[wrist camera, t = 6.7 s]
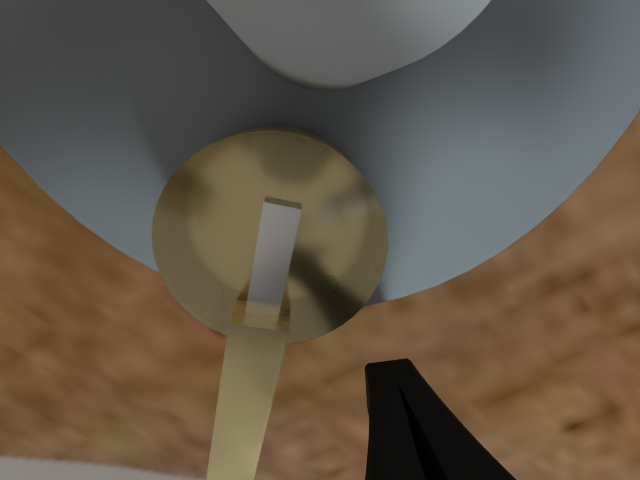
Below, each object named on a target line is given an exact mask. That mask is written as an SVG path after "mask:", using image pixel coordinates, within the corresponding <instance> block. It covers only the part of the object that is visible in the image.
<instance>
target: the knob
mask: <svg viewBox="0 0 640 480" xmlns="http://www.w3.org/2000/svg"><path fill="white" fill-rule="evenodd" d="M152 247H153V252H154V257H155V262H156V264H157V267H158V270H159V273H160V275H161V277H162V279H163V281H164V283H165V285H166V287H167V288H168V290H169V291H170V292H171V294H172V295H173V297H174V298H175V299H176V300H177V302H178V303H179V304H180V305H181V306H182V307H183V308H184V309H185V310H186V311H187V312H188V313H189V314H191V315H192V316H193V317H194V318H195V319H197V320H198V321H200V322H201V323H203V324H204V325H206V326H207V327H209V328H211V329H213V330H215V331H217V332H219V333H221V334H224V335H226V336H227V340H226V346H225V353H224V360H223V367H222V374H221V381H220V388H219V395H218V402H217V409H216V416H215V423H214V430H213V437H212V444H211V451H210V458H209V465H208V472H207V479H206V480H254V476H255V472H256V468H257V464H258V460H259V455H260V451H261V447H262V443H263V439H264V435H265V431H266V426H267V422H268V418H269V414H270V410H271V406H272V402H273V397H274V393H275V389H276V385H277V381H278V377H279V372H280V368H281V364H282V360H283V356H284V352H285V348H286V344H291V343H298V342H302V341H307V340H310V339H313V338H316V337H319V336H322V335H324V334H326V333H328V332H330V331H333V330H334V329H336V328H338V327H339V326H341V325H342V324H344V323H345V322H347V321H348V320H349V319H350V318H352V317H353V316H354V315H355V314H356V313H357V312H358V311H359V310H360V309H361V308H362V307H363V306H364V305H365V304H366V302H367V301H368V300H369V299H370V297H371V296H372V294H373V292H374V291H375V289H376V287H377V286H378V283H379V281H380V279H381V276H382V274H383V271H384V267H385V263H386V258H387V251H388V233H387V226H386V220H385V217H384V214H383V210H382V207H381V205H380V203H379V201H378V198H377V196H376V194H375V192H374V191H373V189H372V188H371V186H370V185H369V183H368V182H367V180H366V179H365V178H364V177H363V176H362V175H361V173H360V172H359V171H358V170H357V169H356V168H355V167H354V166H353V164H352V163H351V162H350V161H349V160H348V159H347V158H346V157H345V156H344V155H343V153H342V152H341V151H339V150H338V149H337V148H336V147H335V146H334V145H332V144H331V143H330V142H328V141H327V140H325V139H323V138H322V137H320V136H318V135H316V134H314V133H312V132H309V131H306V130H303V129H300V128H296V127H290V126H283V125H268V126H259V127H255V128H251V129H247V130H244V131H242V132H239V133H237V134H234V135H232V136H230V137H227V138H225V139H222V140H220V141H218V142H215V143H213V144H211V145H209V146H207V147H205V148H204V149H202V150H200V151H199V152H197V153H195V154H194V155H193V156H191V157H190V158H189V159H188V160H187V161H185V162H184V163H183V164H182V165H181V166H180V167H179V168H178V169H177V171H176V172H175V173H174V174H173V175H172V176H171V178H170V179H169V181H168V182H167V184H166V185H165V187H164V189H163V190H162V193H161V195H160V197H159V200H158V202H157V205H156V208H155V212H154V216H153V224H152Z"/></svg>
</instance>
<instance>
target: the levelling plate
mask: <svg viewBox="0 0 640 480" xmlns="http://www.w3.org/2000/svg"><path fill="white" fill-rule="evenodd" d="M639 109H640V0H0V145H1V146H2V147H3V149H4V150H5V151H6V152H7V153H8V154H9V155H10V156H11V157H12V158H13V159H14V160H15V161H16V163H17V164H18V165H19V166H20V167H21V168H22V169H23V170H24V171H25V172H26V173H27V174H28V175H29V176H30V177H31V178H32V179H33V180H34V182H35V183H36V184H37V185H38V186H39V187H40V188H41V189H42V190H43V191H44V192H45V193H47V194H48V195H49V196H50V197H51V198H52V199H53V200H55V201H56V202H57V203H58V204H59V205H60V206H62V207H63V208H64V209H65V210H66V211H67V212H68V213H70V214H71V215H72V216H73V217H74V218H75V219H76V220H78V221H79V222H80V223H81V224H83V225H84V226H85V227H87V228H88V229H90V230H91V231H92V232H94V233H95V234H97V235H98V236H99V237H101V238H102V239H104V240H105V241H106V242H108V243H109V244H111V245H112V246H113V247H115V248H116V249H118V250H119V251H121V252H123V253H125V254H126V255H128V256H130V257H132V258H133V259H135V260H137V261H139V262H140V263H142V264H144V265H146V266H147V267H149V268H151V269H153V270H154V271H157V272H159V270H158V267H157V264H156V262H155V257H154V252H153V247H152V224H153V216H154V212H155V208H156V205H157V202H158V200H159V197H160V195H161V193H162V190H163V189H164V187H165V185H166V184H167V182H168V181H169V179H170V178H171V176H172V175H173V174H174V173H175V172H176V171H177V169H178V168H179V167H180V166H181V165H182V164H183V163H184V162H185V161H187V160H188V159H189V158H190V157H191V156H193V155H194V154H195V153H197V152H199V151H200V150H202V149H204V148H205V147H207V146H209V145H211V144H213V143H215V142H218V141H220V140H222V139H225V138H227V137H230V136H232V135H234V134H237V133H239V132H242V131H244V130H247V129H251V128H255V127H259V126H268V125H283V126H290V127H296V128H300V129H303V130H306V131H309V132H312V133H314V134H316V135H318V136H320V137H322V138H323V139H325V140H327V141H328V142H330V143H331V144H332V145H334V146H335V147H336V148H337V149H338V150H339V151H341V152H342V153H343V155H344V156H345V157H346V158H347V159H348V160H349V161H350V162H351V163H352V164H353V166H354V167H355V168H356V169H357V170H358V171H359V172H360V173H361V175H362V176H363V177H364V178H365V179H366V180H367V182H368V183H369V185H370V186H371V188H372V189H373V191H374V192H375V194H376V196H377V198H378V201H379V203H380V205H381V207H382V210H383V214H384V217H385V220H386V226H387V233H388V251H387V258H386V263H385V267H384V271H383V274H382V276H381V279H380V281H379V283H378V286H377V287H376V289H375V291H374V292H373V294H372V296H371V297H370V299H369V300H368V301H367V302H366V304H365V305H364V306H366V305H371V304H375V303H380V302H384V301H389V300H393V299H397V298H402V297H405V296H408V295H411V294H413V293H416V292H419V291H422V290H425V289H428V288H431V287H434V286H436V285H439V284H441V283H443V282H445V281H447V280H449V279H452V278H454V277H456V276H458V275H460V274H462V273H465V272H467V271H469V270H471V269H472V268H474V267H476V266H477V265H479V264H481V263H482V262H484V261H486V260H488V259H489V258H491V257H493V256H494V255H496V254H498V253H499V252H501V251H503V250H504V249H505V248H507V247H508V246H509V245H511V244H512V243H514V242H515V241H516V240H518V239H519V238H520V237H522V236H523V235H525V234H526V233H527V232H529V231H530V230H531V229H533V228H534V227H535V226H536V225H538V224H539V223H540V222H541V221H542V220H543V219H544V218H545V217H547V216H548V215H549V214H550V213H551V212H552V211H553V210H554V209H556V208H557V207H558V206H559V205H560V204H561V203H562V202H563V201H565V200H566V199H567V198H568V197H569V196H570V195H571V193H572V192H573V191H574V190H575V189H576V188H577V187H578V186H579V185H580V184H581V183H582V182H583V181H584V180H585V179H586V177H587V176H588V175H589V174H590V173H591V172H592V171H593V170H594V169H595V168H596V167H597V166H598V165H599V163H600V162H601V161H602V159H603V158H604V157H605V156H606V154H607V153H608V152H609V151H610V149H611V148H612V147H613V145H614V144H615V143H616V142H617V140H618V139H619V138H620V136H621V135H622V134H623V133H624V131H625V130H626V129H627V127H628V126H629V125H630V123H631V122H632V120H633V119H634V117H635V116H636V114H637V113H638V111H639Z"/></svg>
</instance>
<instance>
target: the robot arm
mask: <svg viewBox="0 0 640 480" xmlns="http://www.w3.org/2000/svg"><path fill="white" fill-rule="evenodd" d="M365 378H366V394H367V408H368V413H369V442H368V454H367V466H366V477H365V480H516V479H515V478H514V477H513V476H512V475H511V474H510V473H509V472H508V471H507V470H506V469H505V468H504V467H503V466H502V465H501V464H500V463H499V462H498V461H497V460H496V459H495V458H494V457H493V456H492V455H491V454H490V453H489V452H488V451H487V450H486V449H485V448H484V447H483V446H482V445H481V444H480V443H479V442H478V441H477V440H476V439H475V437H474V436H473V435H472V434H471V433H470V432H469V431H468V430H467V429H466V428H465V427H464V425H463V424H462V423H461V422H460V421H459V420H458V419H457V418H456V416H455V415H454V414H453V413H452V412H451V411H450V410H449V409H448V407H447V406H446V405H445V404H444V403H443V402H442V400H441V399H440V398H439V397H438V396H437V394H436V393H435V392H434V391H433V389H432V388H431V387H430V386H429V384H428V383H427V382H426V381H425V379H424V378H423V377H422V376H421V374H420V373H419V372H418V370H417V369H416V368H415V366H414V365H413V363H412V362H411V361H410V360H409V359H399V360H391V361H384V362H376V363H368V364H367V365H366V366H365Z"/></svg>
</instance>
